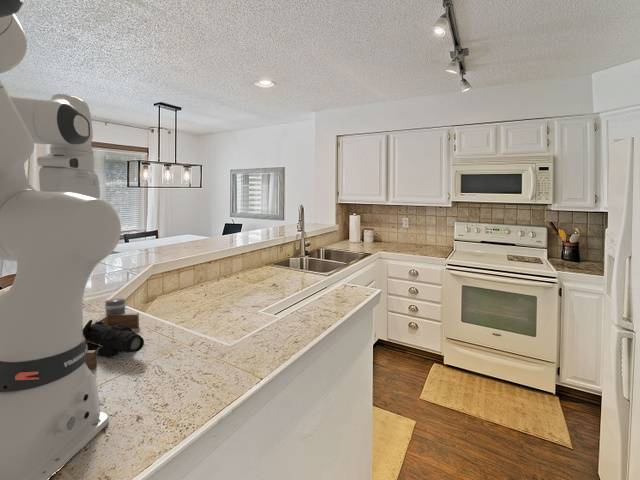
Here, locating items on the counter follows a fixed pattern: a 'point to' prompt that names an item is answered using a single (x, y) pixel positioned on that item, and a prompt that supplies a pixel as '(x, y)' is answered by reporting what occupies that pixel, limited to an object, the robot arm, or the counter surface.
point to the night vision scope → (111, 339)
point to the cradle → (111, 320)
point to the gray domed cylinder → (115, 306)
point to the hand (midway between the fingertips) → (75, 217)
